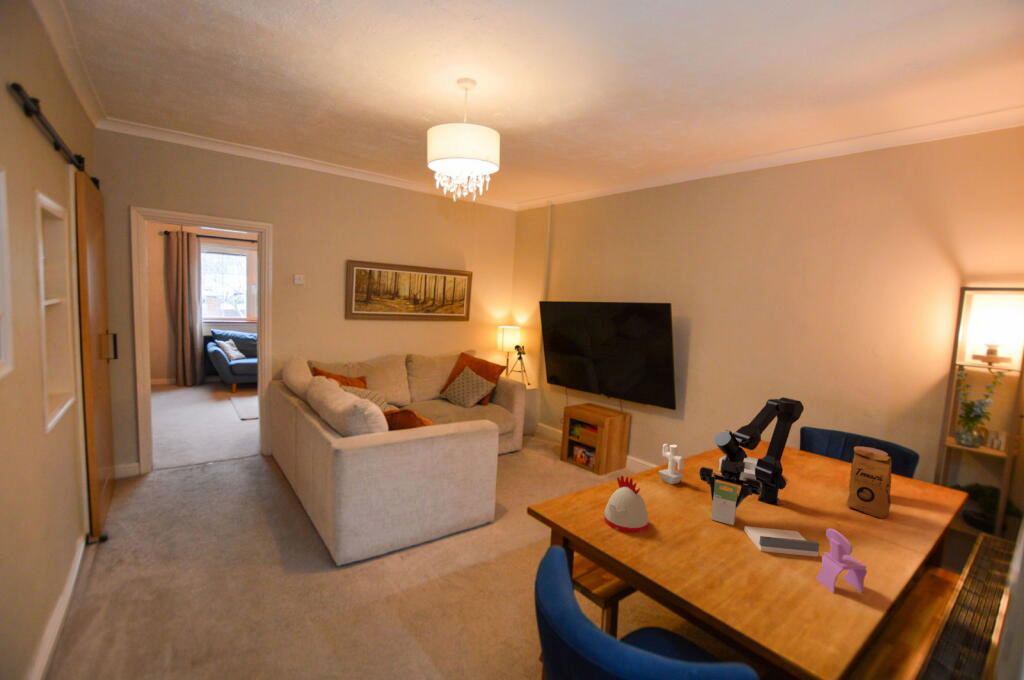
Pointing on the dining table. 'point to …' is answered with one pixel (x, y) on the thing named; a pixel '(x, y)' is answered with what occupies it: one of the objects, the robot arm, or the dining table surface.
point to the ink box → (724, 504)
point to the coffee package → (870, 483)
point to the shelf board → (782, 541)
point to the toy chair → (840, 563)
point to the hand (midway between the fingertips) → (724, 503)
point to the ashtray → (748, 470)
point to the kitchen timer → (626, 508)
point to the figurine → (672, 465)
